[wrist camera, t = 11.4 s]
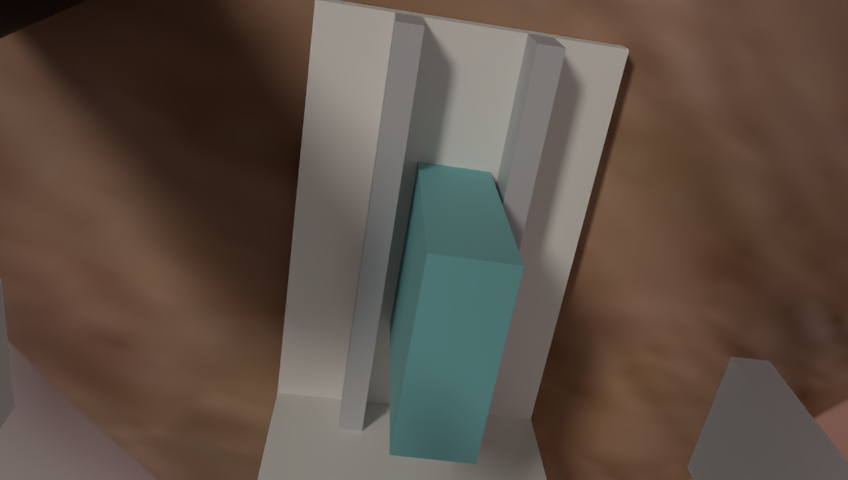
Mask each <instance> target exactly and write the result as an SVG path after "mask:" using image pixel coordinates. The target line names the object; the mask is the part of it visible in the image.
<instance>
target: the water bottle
mask: <svg viewBox="0 0 848 480" xmlns="http://www.w3.org/2000/svg"><path fill="white" fill-rule="evenodd" d="M83 1H86V0H0V38H2V37H5V36H7V35H9V34H11V33H14V32H16V31H18V30H20V29H23V28H25V27H27V26H29V25H32V24H34V23H36V22H38V21H41V20H43V19H45V18H47V17H50V16H52V15H54V14H56V13H59V12H61V11H63V10H65V9H68V8H70V7H72V6H74V5H77V4H79V3H81V2H83Z"/></svg>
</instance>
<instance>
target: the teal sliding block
mask: <svg viewBox="0 0 848 480" xmlns="http://www.w3.org/2000/svg"><path fill="white" fill-rule="evenodd" d="M523 269H524V264H523V261H522V259H521V256H520V253H519V250H518V247H517V245H516V242H515V239H514V236H513V233H512V231H511V228H510V225H509V222H508V219H507V217H506V214H505V211H504V208H503V205H502V203H501V200H500V197H499V194H498V192H497V189H496V186H495V183H494V180H493V178H492V175H491V172H486V171H479V170H473V169H466V168H459V167H452V166H445V165H438V164H431V163H425V162H418V164H417V170H416V175H415V181H414V187H413V193H412V199H411V205H410V211H409V216H408V222H407V228H406V234H405V240H404V246H403V252H402V257H401V263H400V269H399V275H398V281H397V287H396V293H395V299H394V304H393V310H392V316H391V322H390V455H394V456H404V457H413V458H423V459H432V460H442V461H451V462H461V463H470V464H476V460H477V456H478V452H479V448H480V444H481V440H482V436H483V432H484V428H485V424H486V420H487V416H488V411H489V407H490V403H491V399H492V395H493V391H494V387H495V383H496V379H497V375H498V371H499V367H500V363H501V358H502V354H503V350H504V346H505V342H506V338H507V334H508V330H509V326H510V322H511V318H512V314H513V310H514V305H515V301H516V297H517V293H518V289H519V285H520V281H521V277H522V273H523Z"/></svg>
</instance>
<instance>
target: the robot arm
mask: <svg viewBox="0 0 848 480" xmlns="http://www.w3.org/2000/svg"><path fill="white" fill-rule="evenodd" d="M14 408H15V406H14V396H13V387H12V378H11V368H10V358H9V349H8V339H7V330H6V320H5V311H4V301H3V292H2V282H1V279H0V428H1V426H2V425H3V423H4V422H5V421H6V419H7V418H8V416H9V415H10V413H11V412H12V410H13V409H14ZM687 469H688V471H689V473H690V475H691V477H692V479H693V480H848V463H847V461H846V460H845V459H844V457H843V456H842V455H841V454H840V452H839V451H838V450H837V448H836V447H835V446H834V444H833V443H832V442H831V441H830V439H829V438H828V437H827V435H826V434H825V433H824V431H823V430H822V429H821V428H820V426H819V425H818V424H817V422H816V421H815V420H814V418H813V417H812V416H811V414H810V413H809V412H808V411H807V409H806V408H805V407H804V405H803V404H802V403H801V401H800V400H799V399H798V398H797V396H796V395H795V394H794V392H793V391H792V390H791V388H790V387H789V386H788V385H787V383H786V382H785V381H784V379H783V378H782V377H781V375H780V374H779V373H778V372H777V370H776V369H775V368H774V366H773V365H772V364H771V362H770V361H767V360H758V359H748V358H739V357H731V358H730V360H729V363H728V365H727V368H726V370H725V373H724V375H723V378H722V380H721V383H720V385H719V388H718V390H717V393H716V395H715V398H714V400H713V403H712V406H711V408H710V411H709V413H708V416H707V418H706V421H705V423H704V426H703V428H702V431H701V433H700V436H699V438H698V441H697V443H696V446H695V448H694V451H693V453H692V456H691V458H690V461H689V463H688V466H687Z"/></svg>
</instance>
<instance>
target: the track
mask: <svg viewBox="0 0 848 480" xmlns="http://www.w3.org/2000/svg"><path fill="white" fill-rule="evenodd" d="M628 52H629V49H627V48H626V47H624V46H622V45H616V44H609V43H603V42H597V41H591V40H584V39H578V38H572V37H565V36H559V35H553V34H547V33H540V32H534V31H528V30H521V29H515V28H509V27H503V26H496V25H490V24H484V23H477V22H471V21H465V20H459V19H452V18H446V17H440V16H433V15H427V14H421V13H415V12H408V11H402V10H396V9H389V8H383V7H377V6H371V5H364V4H358V3H352V2H346V1H339V0H315V8H314V18H313V29H312V39H311V49H310V60H309V70H308V81H307V91H306V101H305V112H304V122H303V133H302V143H301V153H300V164H299V174H298V185H297V195H296V205H295V216H294V226H293V236H292V247H291V257H290V268H289V278H288V288H287V299H286V309H285V320H284V330H283V340H282V351H281V361H280V372H279V382H278V392H277V397H276V401H275V406H274V410H273V414H272V419H271V423H270V427H269V432H268V436H267V440H266V445H265V449H264V454H263V458H262V462H261V467H260V471H259V475H258V480H547V478H546V475H545V471H544V467H543V463H542V460H541V456H540V452H539V448H538V444H537V441H536V437H535V433H534V429H533V426H532V422H531V417H532V413H533V409H534V405H535V402H536V398H537V394H538V390H539V387H540V383H541V379H542V375H543V372H544V368H545V364H546V360H547V357H548V353H549V349H550V345H551V342H552V338H553V334H554V330H555V327H556V323H557V319H558V315H559V311H560V308H561V304H562V300H563V296H564V293H565V289H566V285H567V281H568V278H569V274H570V270H571V266H572V263H573V259H574V255H575V251H576V248H577V244H578V240H579V236H580V233H581V229H582V225H583V221H584V218H585V214H586V210H587V206H588V202H589V199H590V195H591V191H592V187H593V184H594V180H595V176H596V172H597V169H598V165H599V161H600V157H601V154H602V150H603V146H604V142H605V139H606V135H607V131H608V127H609V124H610V120H611V116H612V112H613V109H614V105H615V101H616V97H617V93H618V90H619V86H620V82H621V78H622V75H623V71H624V67H625V63H626V60H627V56H628ZM418 162H425V163H431V164H438V165H445V166H452V167H459V168H466V169H473V170H479V171H486V172H491V175H492V178H493V180H494V183H495V186H496V189H497V192H498V194H499V197H500V200H501V203H502V205H503V208H504V211H505V214H506V217H507V219H508V222H509V225H510V228H511V231H512V233H513V236H514V239H515V242H516V245H517V247H518V250H519V253H520V256H521V259H522V261H523V264H524V269H523V273H522V277H521V281H520V285H519V289H518V293H517V297H516V301H515V305H514V310H513V314H512V318H511V322H510V326H509V330H508V334H507V338H506V342H505V346H504V350H503V354H502V358H501V363H500V367H499V371H498V375H497V379H496V383H495V387H494V391H493V395H492V399H491V403H490V407H489V411H488V416H487V420H486V424H485V428H484V432H483V436H482V440H481V444H480V448H479V452H478V456H477V460H476V464H470V463H461V462H451V461H442V460H432V459H423V458H413V457H404V456H394V455H390V322H391V316H392V310H393V304H394V299H395V293H396V287H397V281H398V275H399V269H400V263H401V257H402V252H403V246H404V240H405V234H406V228H407V222H408V216H409V211H410V205H411V199H412V193H413V187H414V181H415V175H416V170H417V164H418Z"/></svg>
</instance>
